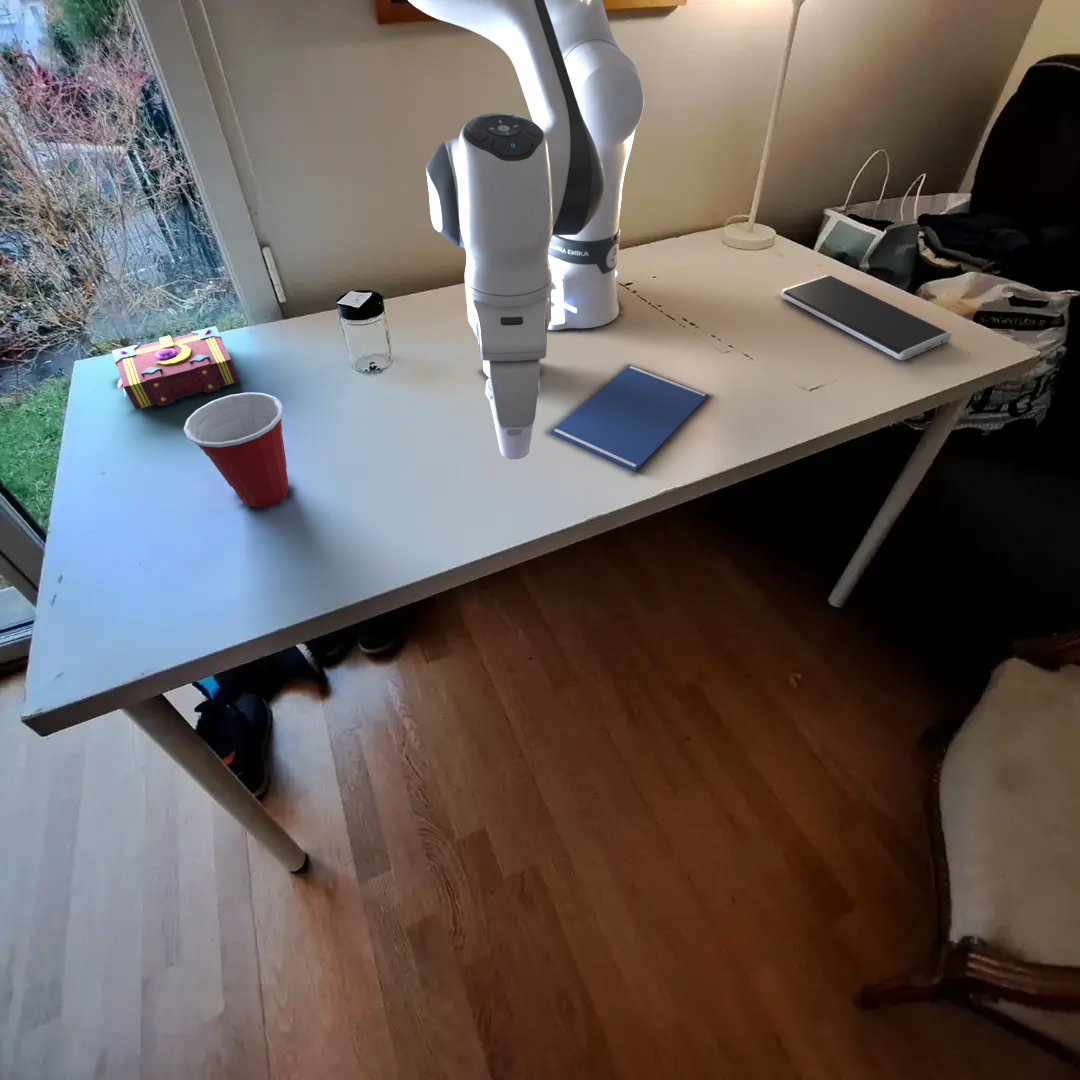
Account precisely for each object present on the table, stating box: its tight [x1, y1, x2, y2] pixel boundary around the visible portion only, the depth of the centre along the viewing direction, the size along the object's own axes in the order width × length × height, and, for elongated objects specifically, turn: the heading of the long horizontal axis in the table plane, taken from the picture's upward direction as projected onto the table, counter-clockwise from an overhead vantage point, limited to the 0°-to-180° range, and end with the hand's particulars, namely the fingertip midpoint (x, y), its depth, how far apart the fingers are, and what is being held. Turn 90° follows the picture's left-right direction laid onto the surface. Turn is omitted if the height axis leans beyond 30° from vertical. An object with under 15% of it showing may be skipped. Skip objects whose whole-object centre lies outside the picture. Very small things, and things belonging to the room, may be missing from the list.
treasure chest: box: [111, 325, 240, 410], centre depth 96 cm, size 11×16×5 cm
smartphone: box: [780, 274, 952, 361], centre depth 114 cm, size 13×27×2 cm, turn 32°
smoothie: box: [485, 377, 541, 460], centre depth 75 cm, size 6×6×14 cm
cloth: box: [549, 364, 710, 473], centre depth 93 cm, size 14×22×1 cm, turn 144°
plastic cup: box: [183, 391, 289, 509], centre depth 77 cm, size 11×11×12 cm
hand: (512, 413), depth 76 cm, fingers closed on smoothie, 6 cm apart
